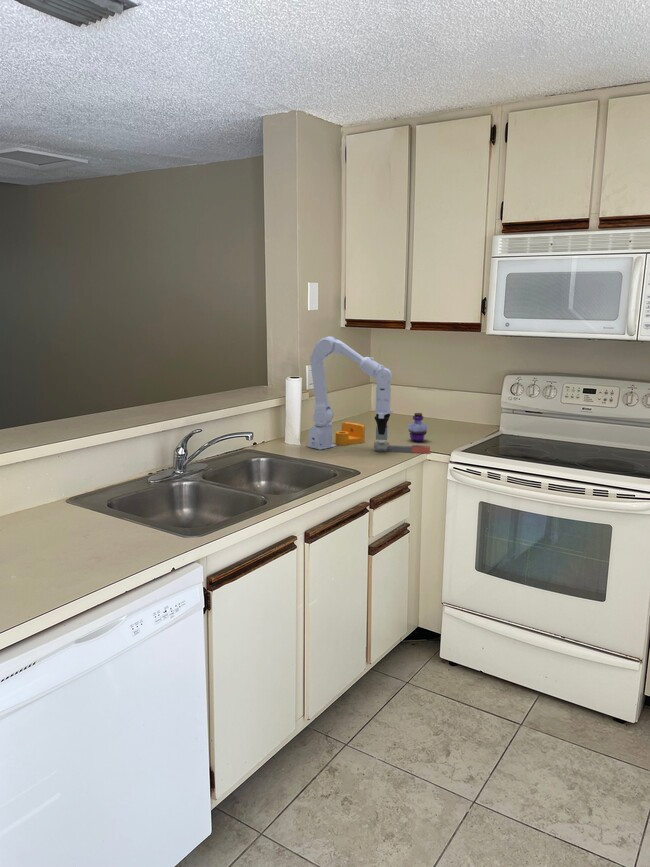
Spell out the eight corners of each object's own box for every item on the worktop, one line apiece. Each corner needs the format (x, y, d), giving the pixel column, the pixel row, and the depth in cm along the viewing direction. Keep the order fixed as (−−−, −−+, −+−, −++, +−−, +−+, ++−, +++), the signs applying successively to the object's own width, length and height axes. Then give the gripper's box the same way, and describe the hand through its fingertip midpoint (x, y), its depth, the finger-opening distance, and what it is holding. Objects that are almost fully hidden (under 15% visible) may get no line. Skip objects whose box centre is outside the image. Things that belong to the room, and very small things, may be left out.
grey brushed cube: (375, 439, 262) (376, 427, 261) (376, 437, 266) (377, 424, 265) (386, 440, 261) (387, 427, 260) (387, 437, 265) (388, 425, 264)
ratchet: (373, 451, 262) (373, 438, 261) (374, 448, 268) (374, 434, 267) (429, 454, 259) (430, 440, 258) (429, 450, 265) (430, 437, 264)
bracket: (366, 424, 277) (348, 429, 268) (365, 441, 279) (348, 446, 270) (345, 421, 284) (328, 425, 275) (345, 438, 285) (327, 442, 276)
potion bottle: (431, 441, 281) (432, 413, 279) (418, 444, 276) (419, 415, 273) (416, 437, 288) (417, 410, 285) (402, 440, 282) (403, 412, 279)
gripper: (392, 402, 253) (391, 437, 256) (394, 396, 267) (393, 429, 270) (373, 401, 254) (372, 436, 257) (376, 396, 268) (375, 429, 271)
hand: (382, 433), depth 263 cm, fingers closed on grey brushed cube, 4 cm apart
